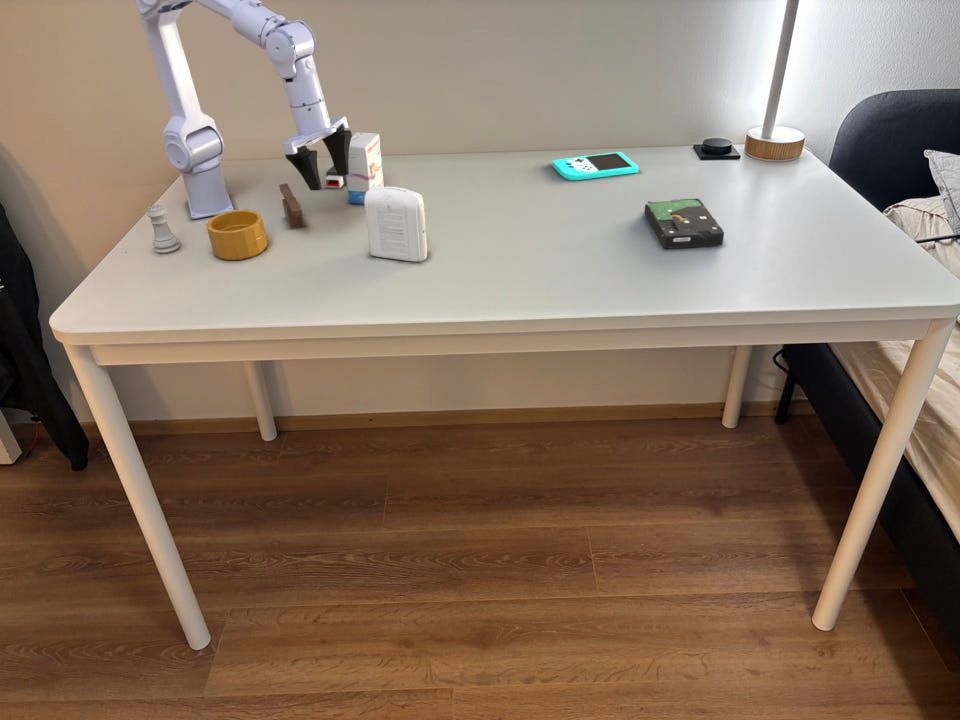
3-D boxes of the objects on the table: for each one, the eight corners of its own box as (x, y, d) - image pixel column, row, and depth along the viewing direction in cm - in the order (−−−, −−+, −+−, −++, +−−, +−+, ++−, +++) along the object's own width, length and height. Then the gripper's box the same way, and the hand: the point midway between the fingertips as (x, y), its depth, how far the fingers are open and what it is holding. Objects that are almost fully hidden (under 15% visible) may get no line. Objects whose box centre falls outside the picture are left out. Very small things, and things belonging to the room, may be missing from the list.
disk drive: (723, 247, 127) (696, 210, 139) (726, 232, 126) (699, 196, 138) (664, 251, 127) (642, 214, 139) (665, 236, 125) (644, 200, 137)
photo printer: (431, 253, 129) (426, 185, 122) (422, 264, 126) (416, 195, 118) (377, 246, 132) (368, 180, 124) (367, 257, 128) (357, 190, 121)
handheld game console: (551, 164, 161) (551, 158, 160) (620, 156, 164) (620, 150, 163) (566, 181, 153) (567, 175, 152) (638, 172, 156) (639, 166, 155)
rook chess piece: (185, 245, 135) (173, 203, 130) (169, 256, 131) (156, 214, 127) (165, 242, 136) (152, 201, 131) (149, 252, 133) (135, 211, 128)
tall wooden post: (281, 210, 146) (276, 185, 143) (294, 207, 147) (289, 182, 144) (295, 238, 135) (290, 212, 132) (308, 235, 136) (304, 209, 133)
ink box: (372, 205, 147) (365, 146, 140) (348, 203, 147) (340, 145, 141) (385, 188, 153) (379, 131, 146) (362, 187, 154) (355, 130, 147)
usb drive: (364, 168, 163) (363, 156, 162) (344, 189, 154) (343, 176, 152) (342, 166, 164) (340, 154, 163) (321, 187, 155) (319, 175, 153)
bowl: (211, 243, 135) (203, 215, 132) (263, 233, 138) (257, 206, 134) (217, 265, 128) (209, 236, 124) (271, 254, 130) (265, 226, 127)
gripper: (296, 114, 115) (320, 197, 122) (352, 89, 126) (372, 167, 132) (263, 116, 119) (289, 196, 126) (321, 91, 129) (342, 167, 136)
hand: (330, 182), depth 129 cm, fingers open, 7 cm apart
